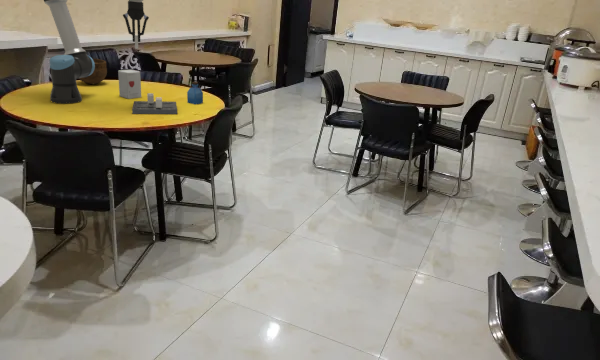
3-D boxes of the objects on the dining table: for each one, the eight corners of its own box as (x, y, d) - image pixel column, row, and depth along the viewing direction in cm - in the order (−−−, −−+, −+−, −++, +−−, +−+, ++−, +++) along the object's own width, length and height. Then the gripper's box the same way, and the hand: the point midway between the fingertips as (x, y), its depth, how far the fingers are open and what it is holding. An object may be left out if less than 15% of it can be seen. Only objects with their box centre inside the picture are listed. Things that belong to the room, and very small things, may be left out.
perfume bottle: (195, 104, 261) (195, 83, 257) (187, 102, 264) (187, 81, 260) (202, 103, 266) (202, 82, 262) (195, 101, 269) (194, 80, 265)
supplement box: (128, 99, 262) (126, 72, 256) (119, 96, 267) (117, 70, 261) (142, 97, 269) (140, 71, 263) (132, 94, 273) (131, 69, 268)
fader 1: (147, 103, 243) (147, 94, 241) (147, 101, 248) (147, 93, 246) (153, 103, 244) (153, 95, 242) (153, 101, 248) (153, 93, 247)
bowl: (101, 87, 285) (99, 63, 279) (70, 85, 284) (68, 61, 279) (113, 82, 302) (111, 59, 297) (84, 80, 302) (82, 57, 296)
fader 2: (155, 107, 235) (155, 99, 234) (156, 105, 240) (155, 97, 238) (162, 107, 236) (161, 99, 235) (162, 105, 241) (161, 97, 239)
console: (132, 113, 232) (132, 109, 231) (134, 105, 248) (133, 100, 247) (177, 114, 238) (177, 109, 237) (176, 105, 255) (175, 101, 254)
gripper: (121, -1, 229) (123, 48, 238) (148, 2, 233) (149, 50, 241) (122, -1, 236) (124, 46, 244) (149, 2, 239) (149, 48, 248)
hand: (136, 48), depth 243 cm, fingers closed
